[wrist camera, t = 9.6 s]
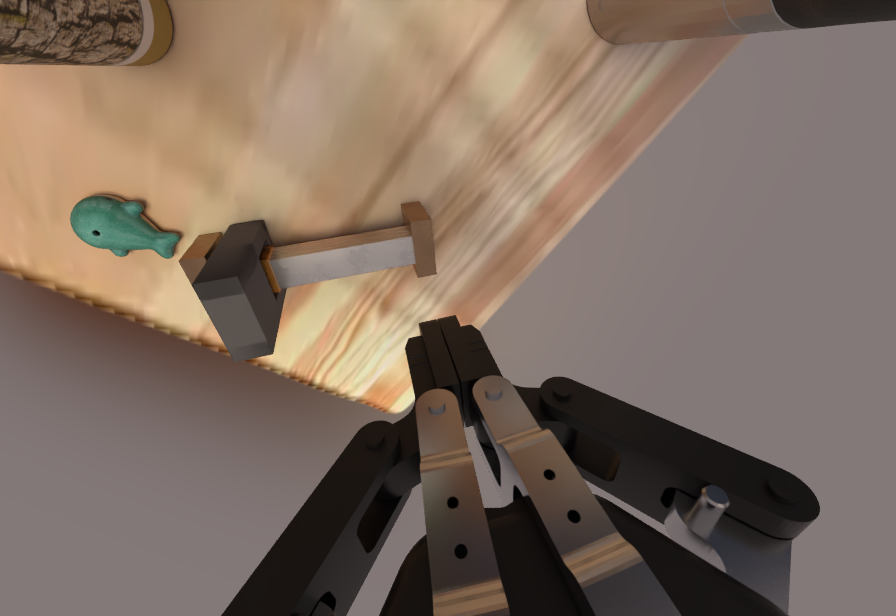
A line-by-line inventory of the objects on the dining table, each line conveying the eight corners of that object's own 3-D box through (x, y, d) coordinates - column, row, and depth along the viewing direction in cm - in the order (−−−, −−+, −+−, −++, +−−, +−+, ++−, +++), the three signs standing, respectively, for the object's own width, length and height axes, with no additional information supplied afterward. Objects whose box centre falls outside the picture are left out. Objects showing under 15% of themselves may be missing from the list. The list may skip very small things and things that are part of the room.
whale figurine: (94, 175, 31) (68, 186, 28) (191, 219, 34) (178, 234, 31) (75, 230, 32) (49, 247, 29) (170, 267, 36) (155, 285, 33)
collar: (262, 220, 35) (237, 276, 26) (287, 284, 40) (272, 354, 30) (230, 225, 35) (191, 284, 25) (258, 289, 39) (234, 362, 29)
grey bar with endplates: (419, 201, 39) (431, 219, 34) (425, 251, 42) (436, 274, 38) (198, 235, 35) (178, 261, 30) (224, 287, 38) (210, 318, 34)
